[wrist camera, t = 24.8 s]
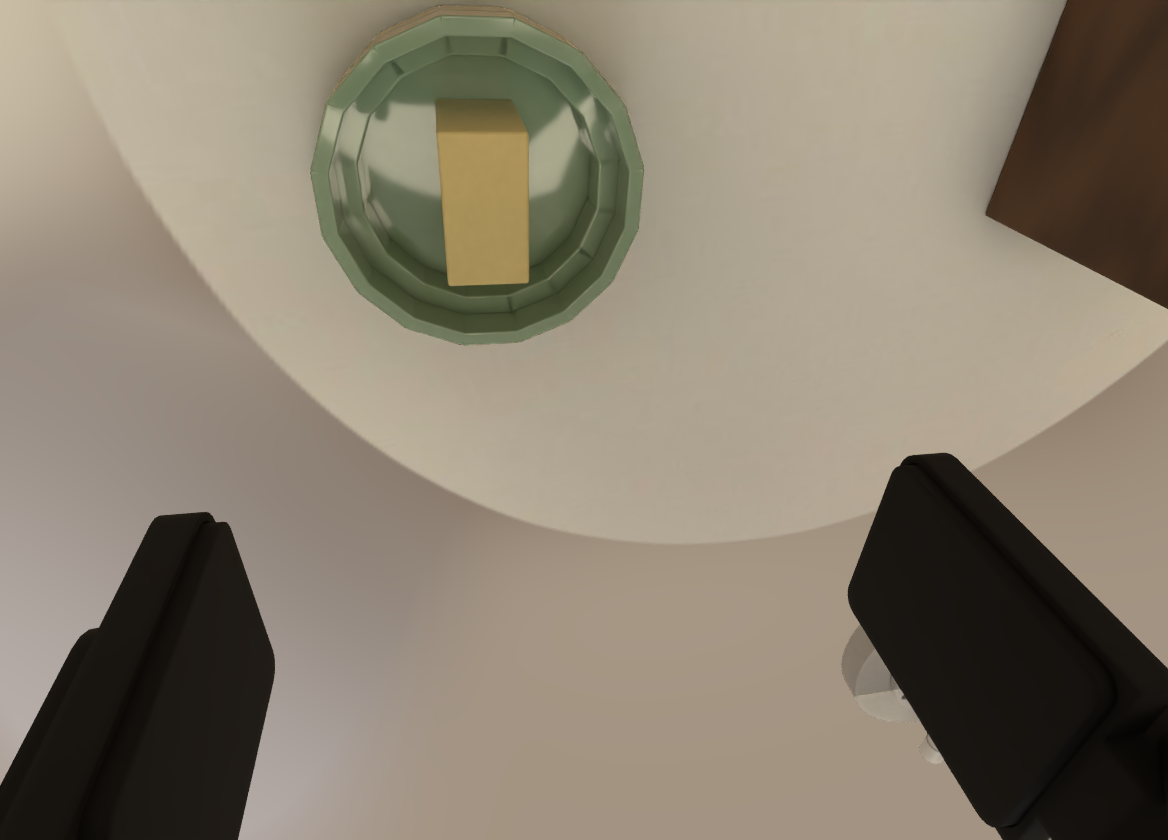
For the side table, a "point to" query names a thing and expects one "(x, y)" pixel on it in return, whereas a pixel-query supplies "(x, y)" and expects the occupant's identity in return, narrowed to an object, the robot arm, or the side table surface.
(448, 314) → the dish
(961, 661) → the robot arm
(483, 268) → the butter slice
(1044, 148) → the chopping block
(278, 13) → the side table surface
